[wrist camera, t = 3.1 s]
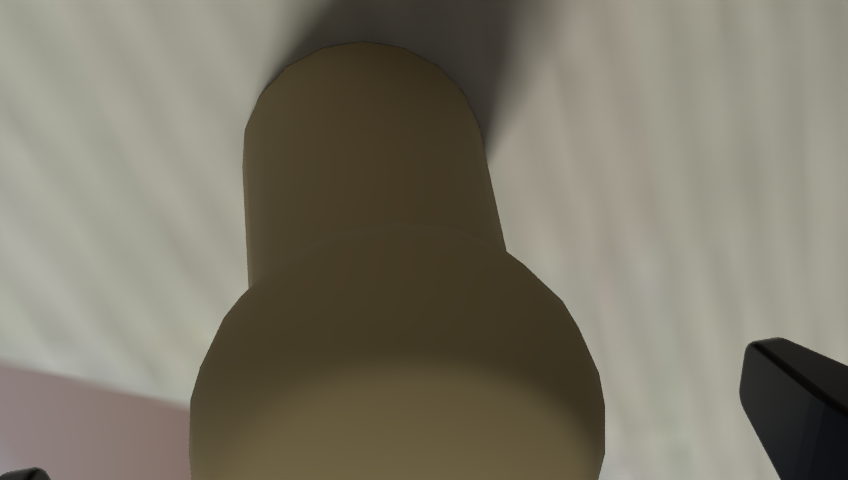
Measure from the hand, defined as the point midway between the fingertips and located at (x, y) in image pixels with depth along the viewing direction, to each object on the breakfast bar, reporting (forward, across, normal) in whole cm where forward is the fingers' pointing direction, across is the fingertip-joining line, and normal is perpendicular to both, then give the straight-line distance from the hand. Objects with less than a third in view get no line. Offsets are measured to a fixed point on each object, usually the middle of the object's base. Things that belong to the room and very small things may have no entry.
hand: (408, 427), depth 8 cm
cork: (+10, 0, 0) cm, 10 cm away
